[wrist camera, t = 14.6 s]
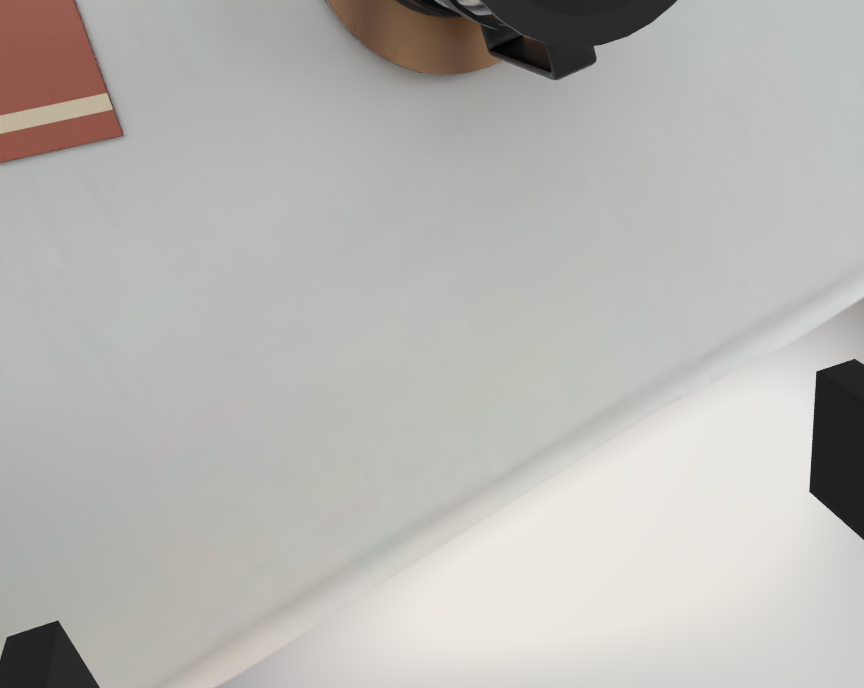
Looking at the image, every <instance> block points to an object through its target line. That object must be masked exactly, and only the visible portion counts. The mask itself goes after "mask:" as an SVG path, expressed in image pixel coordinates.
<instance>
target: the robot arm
mask: <svg viewBox="0 0 864 688" xmlns="http://www.w3.org/2000/svg"><path fill="white" fill-rule="evenodd" d="M815 389H816V390H815V405H814V422H813V440H812V457H811V474H810V493H812V494H813V495H814V496H815V497H816V498H817V499H818V500H819V501H821V502H822V503H823V504H824V505H825V506H826V507H827V508H829V509H830V510H831V511H832V512H833V513H834V514H835V515H836V516H837V517H839V518H840V519H841V520H842V521H843V522H844V523H845V524H846V525H848V526H849V527H850V528H851V529H852V530H853V531H854V532H855V533H857V534H858V535H859V536H860V537H861V538H862V539H863V540H864V364H862V363H860V362H859V361H857V360H856V359H853V360H851V361H847V362H844V363H841V364H838V365H835V366H832V367H829V368H826V369H823V370H820V371H817V372H816V388H815ZM0 688H100V687H99V686H98V684H97V682H96V681H95V679H94V678H93V676H92V674H91V673H90V671H89V670H88V668H87V666H86V665H85V663H84V661H83V660H82V658H81V657H80V655H79V653H78V652H77V650H76V649H75V647H74V645H73V644H72V642H71V640H70V639H69V637H68V636H67V634H66V632H65V631H64V629H63V628H62V626H61V624H60V623H59V621H55V622H52V623H49V624H46V625H43V626H40V627H37V628H34V629H31V630H27V631H24V632H21V633H18V634H15V635H12V636H9V637H7V639H6V642H5V646H4V649H3V652H2V656H1V659H0Z"/></svg>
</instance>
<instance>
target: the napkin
mask: <svg viewBox="0 0 864 688" xmlns="http://www.w3.org/2000/svg"><path fill="white" fill-rule="evenodd" d="M122 135H123V133H122V130H121V127H120V124H119V122H118V119H117V116H116V113H115V111H114V108H113V105H112V102H111V100H110V97H109V94H108V91H107V88H106V86H105V83H104V80H103V77H102V75H101V72H100V69H99V66H98V64H97V61H96V58H95V55H94V53H93V50H92V47H91V44H90V41H89V39H88V36H87V33H86V30H85V28H84V25H83V22H82V19H81V17H80V14H79V11H78V8H77V5H76V3H75V0H0V162H5V161H9V160H14V159H18V158H23V157H27V156H32V155H36V154H41V153H46V152H50V151H55V150H59V149H64V148H68V147H73V146H77V145H82V144H86V143H91V142H96V141H100V140H105V139H109V138H114V137H118V136H122Z"/></svg>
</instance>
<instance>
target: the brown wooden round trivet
mask: <svg viewBox="0 0 864 688" xmlns="http://www.w3.org/2000/svg"><path fill="white" fill-rule="evenodd" d="M326 2H327V3H328V5H329V7H330V8H331V10H332V11H333V12H334V14H335V15H336V17H337V18H338V19H339V21H340V22H341V23H342V24H343V25H344V26H345V28H346V29H347V30H348V31H349V32H350V33H351V34H352V35H353V36H354V37H355V38H356V39H358V40H359V41H360V42H361V43H362V44H364V45H365V46H366V47H367V48H369V49H370V50H372V51H373V52H375V53H376V54H378V55H380V56H381V57H383V58H385V59H386V60H388V61H390V62H393V63H395V64H397V65H399V66H402V67H404V68H407V69H411V70H415V71H418V72H423V73H430V74H437V75H442V74H461V73H467V72H473V71H476V70H480V69H483V68H486V67H489V66H491V65H494V64H496V63H498V62H500V61H502V60H500V59H498V58H495V57H493V56H491V55H490V54H489V52H488V49H487V46H486V43H485V39H484V36H483V33H482V30H481V27H480V24H478V23H475V22H473V21H470V20H468V19H466V18H465V17H447V18H444V17H436V16H429V15H425V14H422V13H419V12H417V11H414V10H411V9H408V8H407V7H405V6H404V5H402V4H400V3H399V2H397V1H396V0H326ZM523 36H524V35H523ZM524 37H527V36H524ZM527 38H529V37H527ZM530 39H532V38H530Z"/></svg>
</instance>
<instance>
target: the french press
mask: <svg viewBox="0 0 864 688" xmlns="http://www.w3.org/2000/svg"><path fill="white" fill-rule="evenodd" d="M396 1H397V2H399V3H400V4H402V5H404V6H405V7H407V8H408V9H411V10H414V11H417V12H419V13H422V14H425V15H429V16H436V17H444V18H447V17H465V18H466V19H468V20H470V21H473V22H475V23H478V24H480V27H481V30H482V33H483V36H484V39H485V43H486V46H487V49H488V52H489V54H490V55H491V56H493V57H495V58H498V59H500V60H503V61H505V62H508V63H510V64H513V65H516V66H518V67H521V68H523V69H526V70H529V71H531V72H534V73H536V74H539V75H542V76H544V77H547V78H549V79H552V80H558V79H561V78H564V77H566V76H568V75H570V74H573V73H575V72H577V71H579V70H582V69H584V68H586V67H589V66H591V65H593V64H594V63H595V62H596V54H595V50H594V46H596V45H602V44H605V43H609V42H612V41H615V40H618V39H621V38H624V37H627V36H629V35H631V34H632V33H634V32H636V31H638V30H639V29H641V28H643V27H645V26H647V25H648V24H650V23H652V22H653V21H654V20H655V19H656V18H658V17H659V16H660V15H661V14H662V13H664V12H665V11H666V10H667V9H668V8H670V7H671V6H672V5H673V4H674V3H675V2H676V1H677V0H396ZM523 35H524V36H527V37H529V38H527V37H524V36H523ZM530 38H532V39H530ZM534 39H535V40H534ZM537 40H538V41H537Z"/></svg>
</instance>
